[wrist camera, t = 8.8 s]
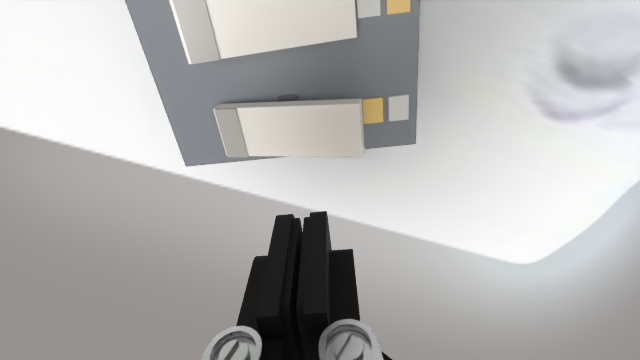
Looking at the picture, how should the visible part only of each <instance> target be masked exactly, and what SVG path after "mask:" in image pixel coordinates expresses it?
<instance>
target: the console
mask: <svg viewBox="0 0 640 360" xmlns="http://www.w3.org/2000/svg"><path fill="white" fill-rule="evenodd" d="M125 1H126V4H127V7H128V10H129V12H130V15H131V18H132V21H133V23H134V26H135V29H136V31H137V34H138V37H139V40H140V42H141V45H142V48H143V51H144V53H145V56H146V59H147V62H148V64H149V67H150V70H151V72H152V75H153V78H154V81H155V83H156V86H157V89H158V92H159V94H160V97H161V100H162V102H163V105H164V108H165V111H166V113H167V116H168V119H169V122H170V124H171V127H172V130H173V132H174V135H175V138H176V141H177V143H178V146H179V149H180V152H181V154H182V157H183V160H184V162H185V165H186V166H196V165H206V164H216V163H226V162H237V161H247V160H257V159H267V158H277V157H287V156H249V157H228V156H227V155H226V152H225V148H224V145H223V141H222V138H221V135H220V131H219V128H218V124H217V121H216V117H215V114H214V111H213V109H214V108H215V107H216V106H218V105H219V104H230V103H256V102H282V101H308V100H334V99H360V98H362V113H363V131H364V148H365V149H369V148H379V147H389V146H399V145H409V144H416V113H417V76H418V40H419V3H420V0H355V13H356V30H357V37H356V38H350V39H344V40H337V41H331V42H325V43H319V44H312V45H306V46H300V47H294V48H287V49H281V50H275V51H269V52H262V53H256V54H250V55H243V56H237V57H231V58H225V59H220V60H216V61H210V62H203V63H197V64H189V63H188V60H187V57H186V54H185V50H184V47H183V44H182V41H181V37H180V34H179V31H178V28H177V24H176V21H175V18H174V15H173V11H172V8H171V5H170V2H169V0H125Z"/></svg>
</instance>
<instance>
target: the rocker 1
mask: <svg viewBox="0 0 640 360" xmlns="http://www.w3.org/2000/svg"><path fill="white" fill-rule="evenodd" d="M169 2H170V5H171V8H172V11H173V15H174V18H175V21H176V24H177V28H178V31H179V34H180V37H181V41H182V44H183V47H184V50H185V54H186V57H187V60H188V63H189V64H197V63H203V62H210V61H216V60H220V59H225V58H231V57H237V56H243V55H250V54H256V53H262V52H269V51H275V50H281V49H287V48H294V47H300V46H306V45H312V44H319V43H325V42H331V41H337V40H344V39H350V38H356V37H357V30H356V13H355V0H169Z"/></svg>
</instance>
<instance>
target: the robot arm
mask: <svg viewBox="0 0 640 360" xmlns="http://www.w3.org/2000/svg"><path fill="white" fill-rule="evenodd" d="M201 360H392V359H391V358H389V357H388V356H387V355H385V354H384V353H383V352H381V350H380V346H379V343H378V340H377V338H376V336H375V334H374V332H373V330H372V329H371V328H370V327H369V326H368V325H366V324H364V323H363V322H361V321H360V315H359V305H358V296H357V287H356V277H355V267H354V258H353V249H347V250H333V251H332V249H331V241H330V233H329V225H328V217H327V212H326V211H324V212H313V213H310V217H305V218H304V225H303V232H302V227H301V221H300V218H294V215H293V214H288V215H277V216H276V219H275V224H274V229H273V233H272V238H271V243H270V248H269V253H268V256H256V257H255V258H254V260H253V264H252V268H251V271H250V275H249V279H248V283H247V287H246V291H245V294H244V298H243V302H242V306H241V310H240V314H239V318H238V322H237V326H235V327H232V328H229V329H226V330H224V331H223V332H221V333H220V334H218V335H217V336H216V337H215V338H214V339H213V340H212V341H211V342H210V344H209V345H208V347H207V349H206V351H205V353H204V355H203V357H202V359H201Z"/></svg>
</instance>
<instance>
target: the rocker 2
mask: <svg viewBox="0 0 640 360" xmlns="http://www.w3.org/2000/svg"><path fill="white" fill-rule="evenodd" d="M213 111H214V114H215V117H216V121H217V124H218V128H219V131H220V135H221V138H222V141H223V145H224V148H225V152H226V155H227V156H228V157H249V156H293V157H363V154H364V151H365V148H364V131H363V113H362V98H360V99H334V100H308V101H282V102H256V103H230V104H219V105H218V106H216V107H215V108H214V109H213Z"/></svg>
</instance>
